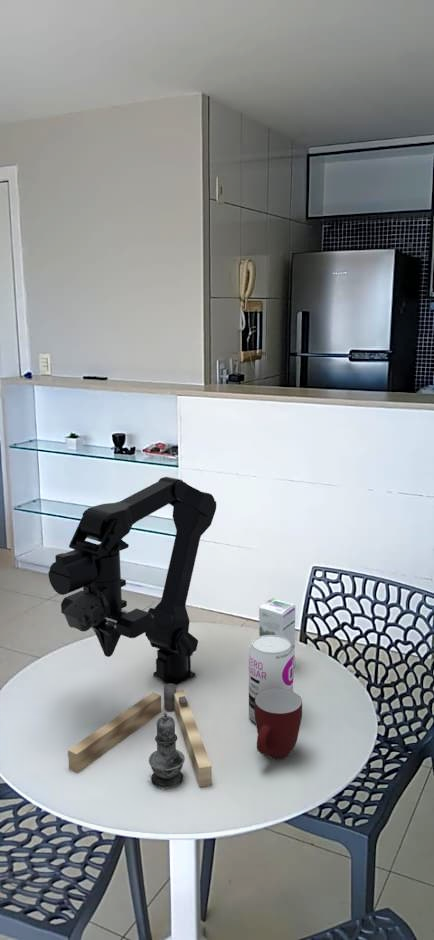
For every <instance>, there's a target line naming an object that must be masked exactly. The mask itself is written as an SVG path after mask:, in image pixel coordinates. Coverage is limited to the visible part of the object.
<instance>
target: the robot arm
mask: <svg viewBox="0 0 434 940" xmlns="http://www.w3.org/2000/svg"><path fill="white" fill-rule="evenodd" d="M167 505H169V506H171V507H173V509H172V519H173V523H174V527H175V530H176V532H175V536H174V537H175V539H174V543H173V547H172V550H171V555H170V560H169V565H168V569H167V573H166V577H165V583H164V587H163V592H162V595H161V600H160V601H159V602H158V603H157V604H156V606H155V607H154V608H153V607H150V608H149V609H148V610H147V611H146V610H142V609H140V608H135V609H133V610H131V611H129V610H126V609H124V608H126V607H127V605H128V604H127V603H128V601H127V600H126V599H123V598H122V588H123V587H125V586H127V583H126V582H127V581H126V579H123V578H122V575H121V573H122V572H121V570H122V569H121V551H122V550H123V551H124V550H126V549H127V548H129V544H128V543H127V542H125V540H123V539H124V537H126V536H127V535H128V534H129V533H130V531H131V530H132V527H133V525H134V524H136V523H137V522H139V521H141V520H142V519H144V518H146V517H148V516H150V515H152V514H153V513H155V512H157V511H158V510H160V509H163V508H164V507H166V506H167ZM216 510H217V501H216V500H215V497H214V496H213V494H211V493H208V492H205V491H202V490H199V489H197V488H195V487H193V486H191V485H189V484H188V483H187V482H185V481H183V480H182V479H180V478H175V477H169V476H163V477H161V478H160V479H158V481H157V482H155V483H153V484H151V485H149V486H146V487H145V488H143V489H141V490H139V491H137V492H135V493H133V494H132V495H129V496H127V497H125V498H123V499H122V500H120V501H117V502H108V503H102V504H98V505H94V506H91V507H88V508H86V509H85V511H83V513H82V517H81V519H80V521H79V522H78V525H77V528H76V529H75V532H74V534H73V537H72V539H71V540H70V543H69V545H68V548H69V549H72V550H71V551H68V552H65V553H64V552H62V553H58V554H55V561H54V562H52V564H51V565H50V566H49V567H50V568H49V571H48V580H49V583H50V585H51V587H52V589H53V590H54V592H56V593H57V594H58V595H61V596H65V595H67V594H70V593H72V592H75V591H77V592H75V593H73V594H70V595H68V596H66V597H64V598H63V600H61V604H60V608H61V612H60V613H61V614H63V615H64V618H65V620H66V621H67V625H68V626H69V628H74V629H77V630H79V631H80V632H87V631H88V630H90V629H92V630H93V631H94V634H95V635H96V638H97V639H98V642H99V644H100V648H101V649H102V652H103V655H104V656H105V657H107V658H110V657H111V656H113V655H114V652H115V650H116V647H117V646H118V642H119V640H120V639H121V636H123V637H125V638H129V639H136V638H137V637H139V636H141V635H143V634H145V635H144V636H145V637H146V638H147V640H148V641H149V644H150V646H151V647H152V648H156V649H157V650H156V654H157V658H155V659H156V660H155V669H156V670H155V671H154V672H153V673H152V675H153V676H154V677H155V678H157V679H159V680H160V681H162V682H163V683H165V684H170V683H171V684H175V685H176V686H177V685H178V684H181V683H183V682H186V681H188V680H190V679H192V678H194V677H196V675H197V674H196V672H194V671H192V670H191V668H192V667H191V661H192V660H191V657H192V656H193V654H194V652H196V651H197V649H198V644H199V639H198V638H196V637H195V636H193V634H191V633H190V632H189V629H190V618H189V614H188V610H187V607H186V603H187V599H188V595H189V590H190V585H191V582H192V581H191V580H192V576H193V572H194V569H195V568H194V567H195V562H196V558H197V555H198V551H199V550H198V549H199V545H200V540H201V537H202V535H203V534H204V533H205V532H206V531H207V530H208V529H209V528H210V526H212V523H213V519H214V516H215V513H216ZM86 539H89V540H92V541H96V542H99V543H98V544H97V543H95V542H91V541H87V540H86ZM82 588H83V589H82ZM80 589H81V590H80ZM78 590H80V591H78Z"/></svg>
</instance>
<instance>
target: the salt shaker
mask: <svg viewBox="0 0 434 940" xmlns="http://www.w3.org/2000/svg"><path fill="white" fill-rule="evenodd" d="M155 735H156V736H155V737H154V742H156V750H155V751H154V752H152V753H151V754H150V756H149V757H148V764H149V766H150V767H151V768H150V769H151V770H152V772H153V773H152V774H151V776H150V782H151V783H152V785H154V787H156V788H159V789H164V790H168V789H174V788H176V787H178V786H180V785H181V784H182V782H183V780H184V775H183V772H182V771H181V770H182V768H183V765H184V763H185V760H186V757H185V755H184V753H183V752H182V751H180V750H178V749H177V743H176V742H177V741H178V735H177V734H176V723H175V719H174V718H173V717H172V716H170V715H168V713H167V712H166V711H165V712H164V714H163V715H162V716H160V717H159V718H158V719H157V720H156V734H155Z"/></svg>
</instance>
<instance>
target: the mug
mask: <svg viewBox="0 0 434 940" xmlns="http://www.w3.org/2000/svg"><path fill="white" fill-rule="evenodd" d="M254 713H255V721H256V723H255V725H256V729H257V739H256V749H257V752H258V753H259V754H261V755H264V756H265V755H266V756H268V757H269V758H271V759H273V760H284V759H286V758H288V757H289V756H290V754H291V752H292V751H293V750H294V748H295V746H296V744H297V741H298V738H299V737H298V736H299V733H300V728H301V723H302V718H303V699H302V698H301V696H300V695H299V694H298V693H296V692H294V690H293V691H290V690H287V689H280V688H274V689H267V690H264V691H262V692H260V693H259V694H258V695H257V696H256V697H255V705H254Z"/></svg>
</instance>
